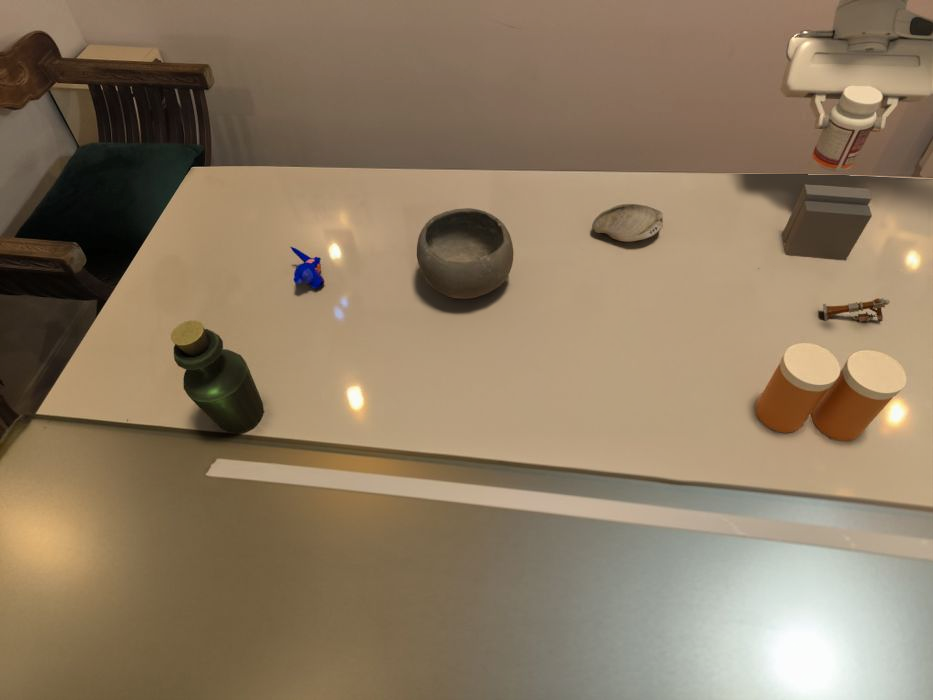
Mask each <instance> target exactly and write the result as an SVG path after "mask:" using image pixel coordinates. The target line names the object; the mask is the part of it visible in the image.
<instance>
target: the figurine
mask: <svg viewBox="0 0 933 700" xmlns="http://www.w3.org/2000/svg"><path fill="white" fill-rule="evenodd" d="M290 249H291V251H292V252H293V253H294V254H295V255H296V256H297V257H298V258H299V259H300V260H301V261H302V263H300V264H298V266H296V268H295V270H294V272H293V276H294V277H293V282H294V284H296V285H300V284H301V283H302V284H305V285H308V286H310V287H311V288H312V289H313V290H318V289H320V288H321V287H323V286H324V285H325V279H324V277H323V276H322V275H321V274H320V272H321V270H322V265H321V260H322V258H321V257H318V256H315V257H310V256H309V255H307V254H305V253H304V252H302V251H301V250H300V249H298V248H296V247H293V246H290Z"/></svg>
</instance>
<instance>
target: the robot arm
mask: <svg viewBox="0 0 933 700" xmlns="http://www.w3.org/2000/svg"><path fill="white" fill-rule="evenodd" d="M908 1H909V0H839V2H838V4H837V6H836V8H835V10H834V16H833V17H834V18H833V23H832V29H831V30H824V29H823V30H811V29H804V30H801V31H800V32H797V33H795V34H794V35H792V36H791V37H790V38H789V39H788V41H787V44H786V53H785V55H786V56H785V57H786V59H787V63H786V66H785V69H784V72H783V76H782V81H781V85H780V92H781V93H782V95H783V96H784V98H798V99H799V98H800V99H801V98H803V99H810V102H809V107H810V109H811V112H812V114H813V115H814V117H815V122H814V129H817V130H823V129H826V128H827V127H828V126H829V120H830V116H831V115H830V113H825V110H824V107H823V105H822V104H823V103H824V102H826V100H827V99H828V100H840V98H841V96H842V93H843V91H844V90H845V89H846V88H847V87H849V86H870V87H873V88H875V89H877V90H878V91H880V92H881V93H882V96H883V98H882V100H881V103H880V106H879V107H880V109H883V110H882V111H881V113H880V114H879V115H878V116H876V121H875V123H874V125H873V127H872V129H871V131H870V132H875V133H879V132H882V131H884V129H885V126H886V122H887V118H888V117H889V115H891V113H893V111H894V110H895V108H897V106H898V104H899V103H920V102H923V101H925V100H926V99H929V98H930V97H931V96H932V95H933V19H931V18H928V17H926V16H923V15H920V14H918V13H915V12H913V11H911V10H908V9H907V5H908Z"/></svg>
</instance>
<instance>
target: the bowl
mask: <svg viewBox="0 0 933 700" xmlns="http://www.w3.org/2000/svg"><path fill="white" fill-rule="evenodd" d="M416 260H417V263H418V267H419V269H420V271H421V273H422V275H423V278H424V279H425V280H426V282H427V283H428V284H429V285H430V286H431V287H432V288H434V289H435V290H436V291H438V292H439V293H442V294H443V295H445V296H446V297H450V298H454V299H473V298H474V299H475V298H477V297H481V296H484V295H487V294H489V293H491V292H492V291H494V290H496V289H497V288H498V287H500V286H501V285H502V284H503V283H504V282H505V281H506V279H507V278H508V276H509V274H510V272H511V270H512V266H513V263H514V244H513V240H512V237H511V234H510V232H509V230H508V229H507V227H506V225H505V223H503V221H501V220H500V219H499V218H498V217H497V216H495V215H493V214H492V213H490V212H487V211H485V210H481V209H478V208H471V207H464V208H456V209H451V210H447V211H444V212H441V213H438V214H436V215H434V216H433V217H431V218H430V219H429V220H428V221H427V222H426V223H425V224H424V226H423V227H422V228H421V231H420V233H419V235H418V239H417V244H416Z"/></svg>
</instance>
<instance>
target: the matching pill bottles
mask: <svg viewBox="0 0 933 700" xmlns="http://www.w3.org/2000/svg"><path fill="white" fill-rule="evenodd" d="M906 384H907V374H906V371H905V369H904V367H903V366H902V365H901V364H900V362H898V361H897V360H896V359H895V358H893V357H891V356H890V355H888V354H886V353H884V352H881V351H877V350H871V349H864V350H859V351H855V352H853V353H852V354H850V356H849V358H847V360H846V361H845V363H844V364H843V367H842V369H841V365H840V363H839V360H838V359H837V357H836V356H835V355H834V354H833V353H832V352H831V351H829V350H828V349H826V348H825V347H823V346H821V345H818V344H814V343H810V342H799V343H794V344H792V345H790V346H789V347H788V348H787V349H785V351H784V353H783V355H782V357H781V358H780V361H779V364H778V365H777V367H776V369H775V370H774V372H773V374H772V376H771V377H770V379H769V380H768V382H767V385H766V386H765V388H764V389H763V391H762V393H761V395H760V396H759V398H758V400H757V401H756V404H755V413H756V416H757V418H758V419H759V421H760V422H761V423H762V424H763V425H765V427H767V428H769V429H771V430H773V431H775V432H778V433H783V434H784V433H787V434H788V433H793V432H796V431H798V430H800V428H802V427H803V425H804V424H805V422H806V421H807V419H808V418H809V417H810V415H811V417H812V418H811V419H812V422H813V423H814V425H815V427H816V428H817V429H818V430H819V432H821V433H822V434H824V435H825V436H827V437H829V438H831V439H834V440H836V441H845V442H847V441H852V440H855V439H857V438H858V437H859V436H860V435H861V434H862V433H863V432H864V431H865V430H866V428H867V427H869V426H870V424H871V423H872V422H873V421H874V420H875V419H876V417H877V416H878V415H879V414H880V413H881V412H882V411H883V410H884V408H885V407H886V406H887V405H888V404H889V403H890V402H891V401H892V399H894V397H896V396H897V395H898V394H899V393H900V392H901V391H902V389H904V388H905V386H906Z"/></svg>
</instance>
